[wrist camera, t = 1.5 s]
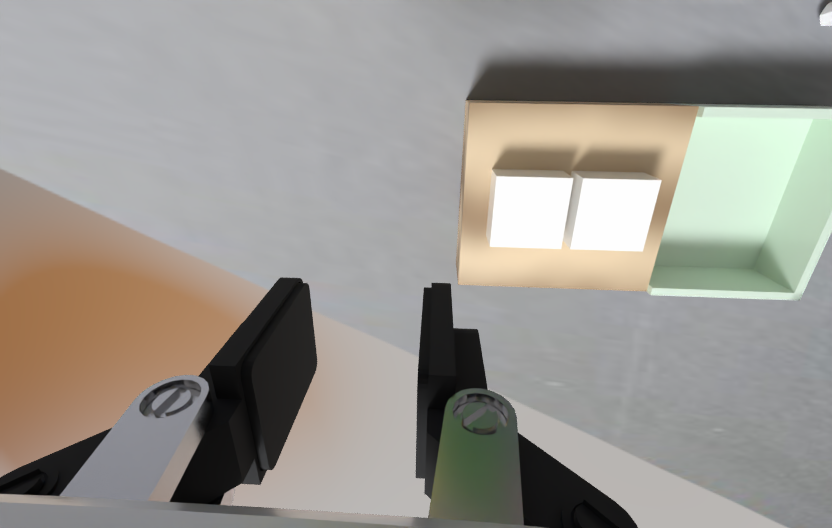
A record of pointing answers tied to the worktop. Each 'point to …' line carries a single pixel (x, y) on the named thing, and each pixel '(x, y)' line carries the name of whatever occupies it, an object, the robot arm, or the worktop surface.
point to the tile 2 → (610, 210)
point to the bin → (749, 204)
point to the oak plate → (570, 151)
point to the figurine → (826, 15)
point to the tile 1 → (528, 208)
